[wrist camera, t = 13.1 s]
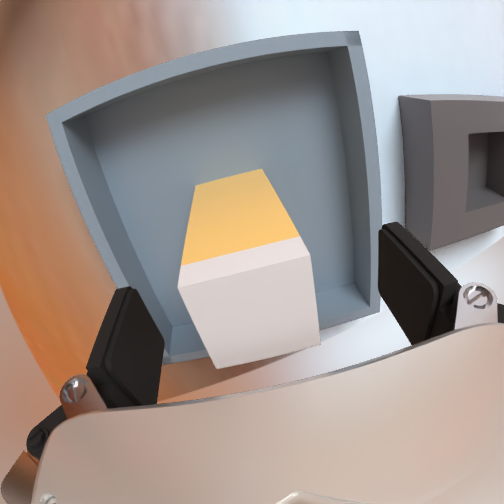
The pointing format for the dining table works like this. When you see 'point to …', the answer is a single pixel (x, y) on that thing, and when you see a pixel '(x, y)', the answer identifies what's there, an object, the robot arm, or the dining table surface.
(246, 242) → the block
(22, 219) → the dining table surface
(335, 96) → the parts tray
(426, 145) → the block
